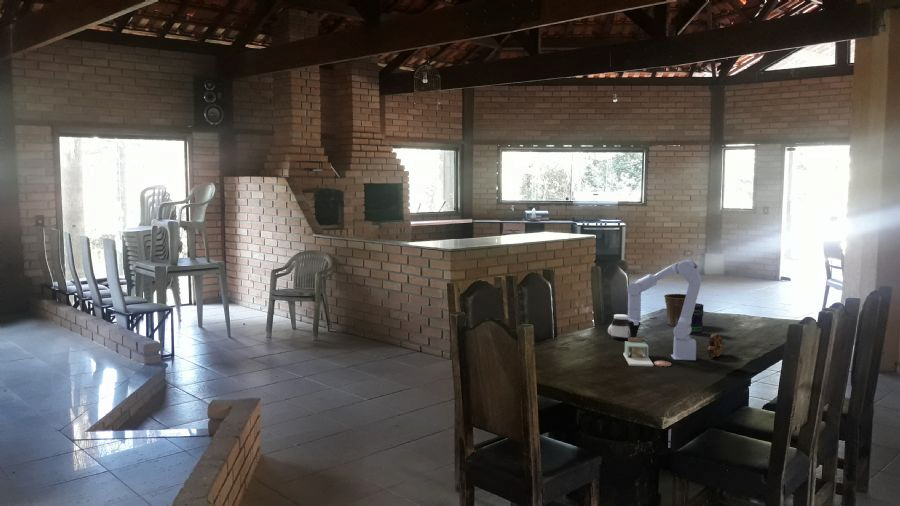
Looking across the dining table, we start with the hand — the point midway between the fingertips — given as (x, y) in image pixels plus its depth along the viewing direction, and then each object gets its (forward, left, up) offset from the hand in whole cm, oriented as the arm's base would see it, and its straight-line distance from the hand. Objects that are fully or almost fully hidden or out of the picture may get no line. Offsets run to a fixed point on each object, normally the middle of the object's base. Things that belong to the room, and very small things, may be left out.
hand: (633, 337), depth 336 cm
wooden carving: (-36, +3, -7) cm, 37 cm away
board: (0, +14, -7) cm, 16 cm away
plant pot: (-34, -67, -7) cm, 75 cm away
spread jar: (+3, -32, -7) cm, 32 cm away
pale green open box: (0, +9, -6) cm, 11 cm away
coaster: (-9, +21, -7) cm, 24 cm away
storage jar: (-37, -47, -7) cm, 60 cm away
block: (0, +9, -7) cm, 12 cm away
